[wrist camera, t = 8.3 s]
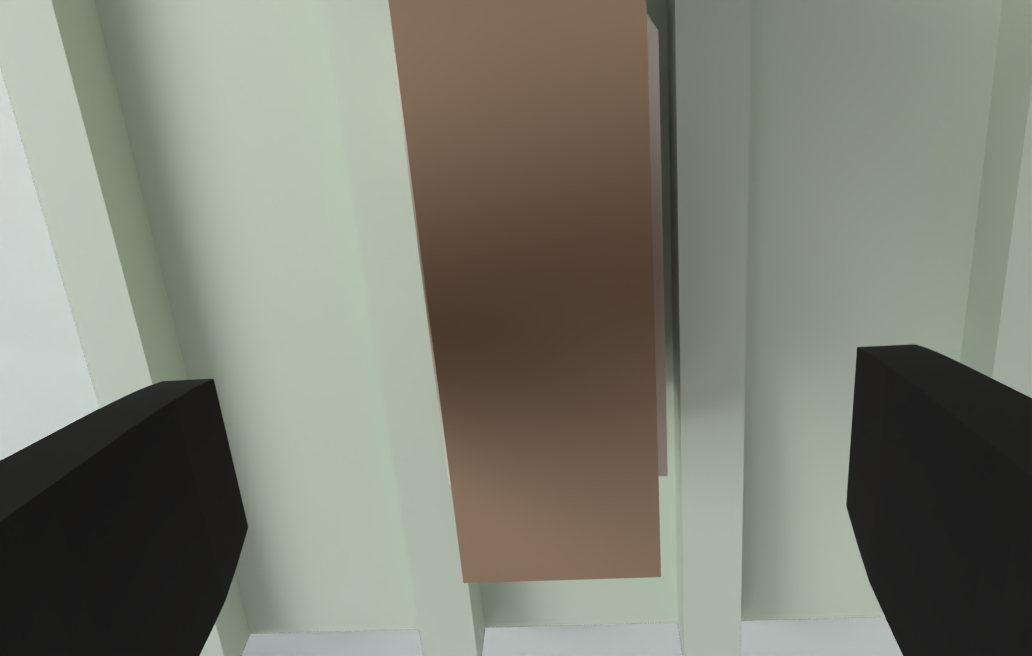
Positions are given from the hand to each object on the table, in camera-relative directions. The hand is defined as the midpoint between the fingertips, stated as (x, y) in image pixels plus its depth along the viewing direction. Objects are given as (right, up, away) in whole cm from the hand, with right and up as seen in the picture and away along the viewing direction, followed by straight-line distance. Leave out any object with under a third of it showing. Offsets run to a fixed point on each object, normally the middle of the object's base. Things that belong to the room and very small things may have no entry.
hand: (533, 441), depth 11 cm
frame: (0, +4, +7) cm, 8 cm away
